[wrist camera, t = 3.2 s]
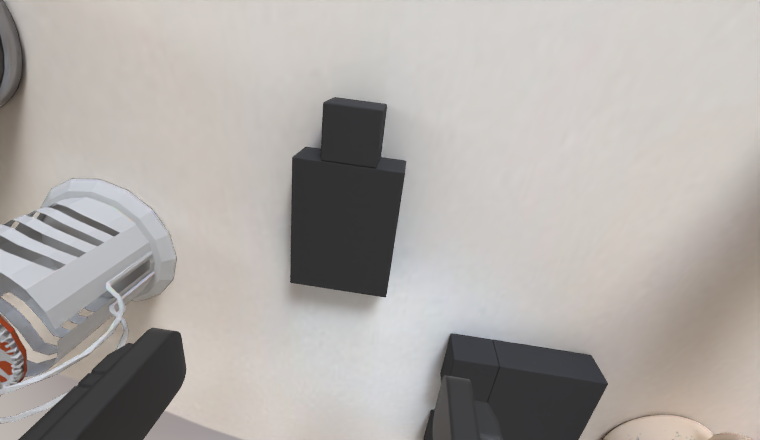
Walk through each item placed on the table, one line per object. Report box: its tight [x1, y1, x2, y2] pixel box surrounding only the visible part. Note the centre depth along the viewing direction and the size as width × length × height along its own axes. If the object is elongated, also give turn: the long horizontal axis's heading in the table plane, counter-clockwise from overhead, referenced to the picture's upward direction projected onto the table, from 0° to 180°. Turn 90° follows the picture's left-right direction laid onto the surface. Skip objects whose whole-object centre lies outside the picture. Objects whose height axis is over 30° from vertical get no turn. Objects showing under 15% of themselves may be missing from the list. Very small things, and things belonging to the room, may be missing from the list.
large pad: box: [424, 334, 608, 440], centre depth 27 cm, size 10×12×2 cm
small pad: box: [290, 97, 406, 297], centre depth 21 cm, size 11×6×2 cm, turn 173°
